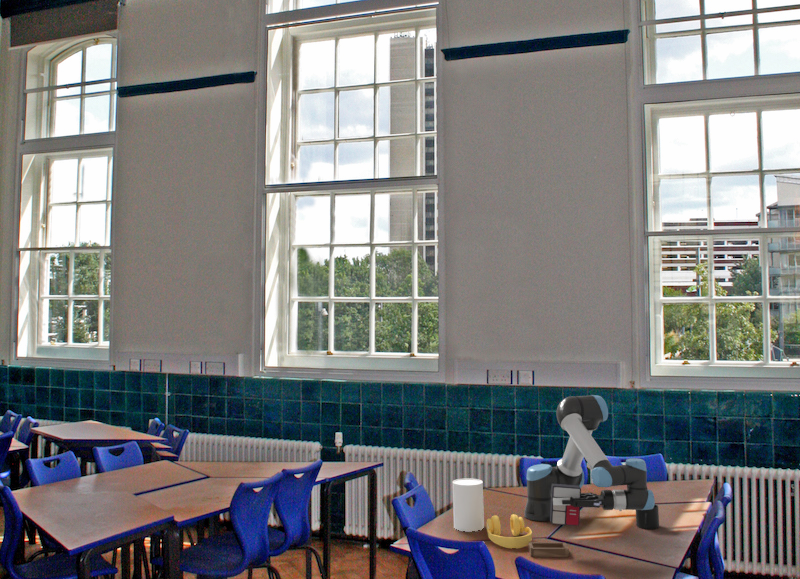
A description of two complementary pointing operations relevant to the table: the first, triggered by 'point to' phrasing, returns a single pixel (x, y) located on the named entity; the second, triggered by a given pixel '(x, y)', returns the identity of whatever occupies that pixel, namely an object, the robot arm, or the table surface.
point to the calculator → (565, 512)
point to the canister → (468, 504)
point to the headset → (516, 529)
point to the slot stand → (548, 549)
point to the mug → (648, 518)
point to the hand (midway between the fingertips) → (552, 500)
